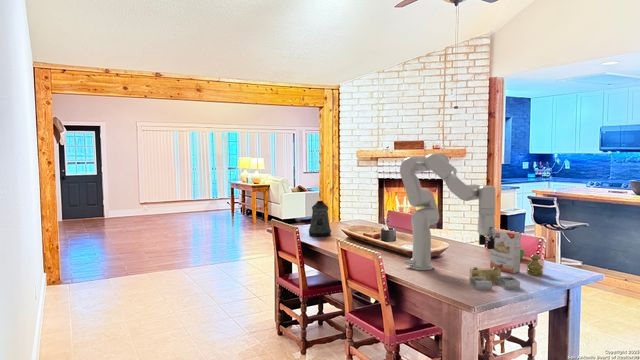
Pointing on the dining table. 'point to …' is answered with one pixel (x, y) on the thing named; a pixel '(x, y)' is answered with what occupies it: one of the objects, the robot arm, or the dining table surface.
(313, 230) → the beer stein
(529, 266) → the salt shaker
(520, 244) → the fruit basket
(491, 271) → the link
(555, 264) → the dining table surface
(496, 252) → the cracker box
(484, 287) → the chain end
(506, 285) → the chain end
